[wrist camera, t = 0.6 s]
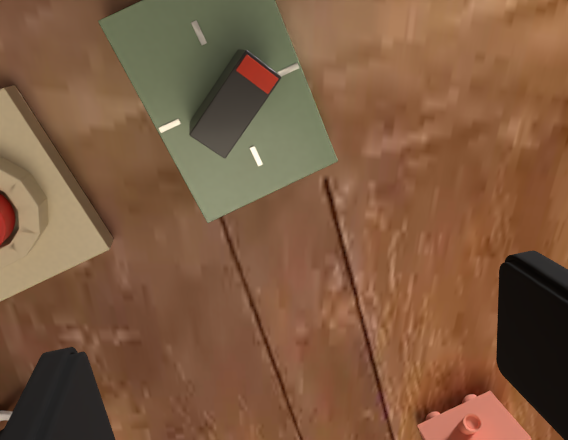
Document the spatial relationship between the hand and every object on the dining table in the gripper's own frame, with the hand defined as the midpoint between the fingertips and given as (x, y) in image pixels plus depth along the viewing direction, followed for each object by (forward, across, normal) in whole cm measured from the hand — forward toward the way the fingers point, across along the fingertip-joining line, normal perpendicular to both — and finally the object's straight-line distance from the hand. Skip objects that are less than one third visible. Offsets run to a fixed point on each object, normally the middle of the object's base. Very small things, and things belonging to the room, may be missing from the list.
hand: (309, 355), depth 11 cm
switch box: (+26, +16, +1) cm, 30 cm away
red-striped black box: (+22, 0, -4) cm, 23 cm away
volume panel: (+26, 0, -4) cm, 26 cm away
